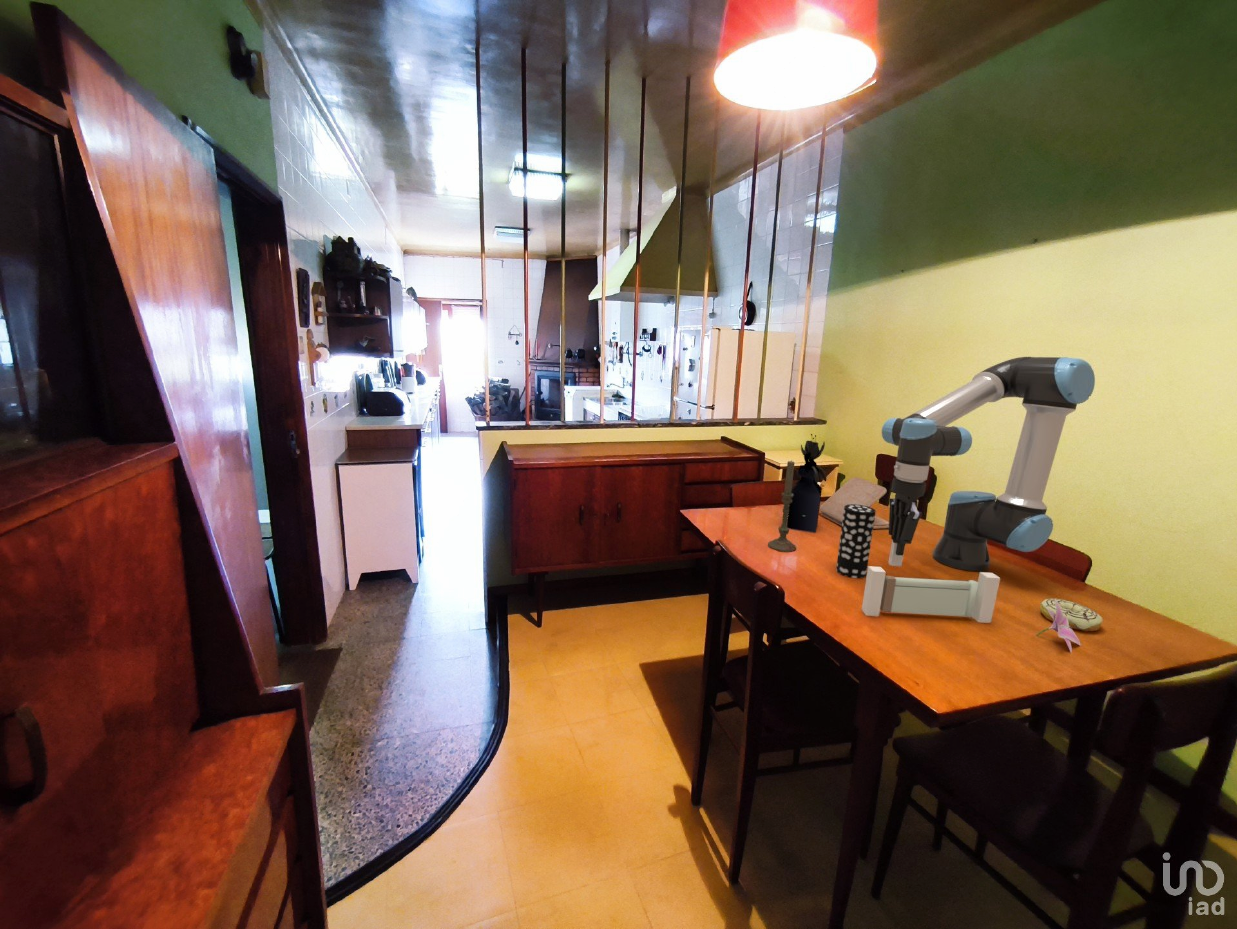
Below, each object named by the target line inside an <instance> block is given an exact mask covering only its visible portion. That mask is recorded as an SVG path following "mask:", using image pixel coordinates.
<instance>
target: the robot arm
mask: <svg viewBox="0 0 1237 929" xmlns="http://www.w3.org/2000/svg"><path fill="white" fill-rule="evenodd" d="M1095 384H1096V378H1095V373H1094V369H1093V368H1092V365H1091V364H1090V363H1089V362H1088V361H1086V360H1084V359H1082V358H1073V357H1068V356H1065V357H1064V356H1062V357H1057V356H1055V357H1052V356H1051V357H1050V356H1049V357H1048V356H1045V357H1044V356H1038V357H1037V356H1020V357H1015V358H1010V359H1008V360H1004V361H1002V362H998V363H997V364H995V365H992V366H989V367H988V368H986V369H983V370H982V371H980V372H978V373H977V374H975V375H974V376H973V377H972V379H971V381H970V382H967V383H966V384H963V385H962V386H960V387H958V388H956V389H955V390H953V391H951V392H949V393H947V394H946V395H944V396H942V397H941V398H939V399H936V400H935V401H933V402H931V403H930V404H928V405H926V406H925V407H923V408H921V409H919V410H917V411H914V413H912V414H910V415H907V416H906V417H903V418H901V417H892V418H888V419H887V420H886V421H885V422H884V423H883V425H882V428H881V436H882V439H883V440H884V441H885V442H886V443H888V444H890V445H894V446H896V447H897V455H896V460H895V465H894V466H893V469H894V470H893V471H894V472H893V476H894V477H893V478H892V482H891V489H890V490H891V492H892V493H893V494H895V495H894V498H889V499H888V503H889V504H888V505H889V513H888V514H889V516H888V517H889V518H888V522H889V528H888V535H889V536H891V538H890V539H891V540H892V542H891V547H890V551H889V556H888V557H889V559H888V565H889V566H893V567H902V564H903V559H904V554H905V547H906V545H911V544H912V542H913V539H914V536H915V533H916V530H917V527H918V524H919V522H920V519H921V518H922V517H923V512H922V511H919V510H918V509H917V508H918V505H919V502H918V499H919V498H920V497H924V496H925V493H926V486H927V482H925V481H927V480H928V476H929V471H930V465H931V464H930V463H931V459H932V457H955V456H962V455H964V454H967V453H968V452H969V450H970V449H971V448H972V444H973V437H972V434H971V432H970V431H969V430H968V429H967V428H964V427H961V426H955V425H953V426H949V425H950V424H952V423H954V422H956V421H957V420H959V419H960V418H963V417H964V416H966V415H968V414H970V413H972V412H973V411H975V410H976V409H978V408H980V407H982V406H984V405H985V404H987V403H996V402H998V401H1000V400H1002V399H1005V398H1019V399H1022V401H1021V402H1022V403H1021V405H1022V406H1023V408H1024V409H1025V411H1026V414H1025V417H1024V421H1023V424H1022V428H1021V431H1020V435H1019V439H1018V442H1017V447H1016V451H1015V454H1014V458H1013V462H1012V465H1011V468H1010V472H1009V476H1008V479H1007V484H1006V487H1005V491H1004V492H1003V493H1002V494H1000V495H998V496H996V494H995V493H991V492H984V491H976V490H973V491H972V490H959V491H958V490H957V491H954V492H952V493H951V494H950V496H949V501H948V503H947V509H946V516H945V522H944V527H943V534H942V535H941V538H940V539H939V541H938V542H937V544H936V546H935V547H934V549H933V553H932V558H933V559H934V560H935V561H936V562H938V563H940V564H943V565H945V566H947V567H951V568H953V569H957V570H962V571H968V572H984V571H987V570H989V568H990V564H991V563H990V562H991V559H990V555H989V548H988V540H989V541H991V542H994V543H997V544H999V545H1002V546H1005V547H1007V548H1009V549H1012V550H1015V551H1016V550H1017V551H1020V552H1022V553H1023V552H1024V553H1029V552H1034V551H1037V550H1038V549H1040V547H1042V546H1044V544H1046V542H1047V541H1048V540H1049V538H1050V536H1051V535H1052V532H1053V530H1054V523H1053V519H1052V518H1051V517H1050V516H1049V515H1047V511H1048V506H1047V505H1046V504H1045V503H1044V502H1043V498H1044V496H1045V492H1046V487H1047V485H1048V481H1049V478H1050V474H1051V471H1052V467H1053V464H1054V460H1055V457H1056V454H1057V449H1058V448H1059V447H1058V446H1059V444H1060V439H1061V436H1062V432H1063V428H1064V426H1065V422H1066V418H1067V416H1068V415H1069V414H1072V413H1073V412H1076V409H1077V406H1078V405H1080V404H1083V403H1085V402H1087V401H1088V400H1089V397H1091V396H1092V394H1093V391H1094V389H1095Z"/></svg>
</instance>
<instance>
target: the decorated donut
mask: <svg viewBox="0 0 1237 929" xmlns="http://www.w3.org/2000/svg"><path fill="white" fill-rule="evenodd" d="M1055 599H1056V601H1057V602H1058V604H1059V605H1060V607H1061V609H1062V612H1063V616H1065V617H1067V619H1068V623H1069V628H1071V627H1072V628H1071V629H1072V630H1073V629H1074V630H1076V631H1077V630H1078V631H1082V632H1084V633H1085V632H1095V631H1098V630H1099V629H1100V628H1101V625H1102V622H1103V621H1104V620H1103V617H1102V616H1101V615H1099V613H1097V612H1096V611H1094V610H1092V609H1091V608H1089V607H1086V606H1083V605H1081V604H1079V603H1076V602H1073V601H1069V600H1065V599H1060V598H1046V599H1044V600H1043V601H1042V602H1041V603H1040V606H1039V609H1040V611H1041V614H1042V615H1043V616H1044V617H1045V619H1046V620H1049V621H1050V622H1052V623H1053V622H1054V620H1055V619H1053V618H1052V616H1051V615H1050V613H1049V612H1048V610H1047V609H1049V610H1051V611H1053V612H1054V613H1055V616H1056V604H1055ZM1070 626H1071V627H1070Z"/></svg>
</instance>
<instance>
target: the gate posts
mask: <svg viewBox="0 0 1237 929" xmlns="http://www.w3.org/2000/svg"><path fill="white" fill-rule="evenodd" d="M885 575H886V571H885V570H884V569H883V568H882V567H881V566H871V565H870V566H869V565H868V566H867V573H866V579H865V583H864V584H865V585H864V586H865V587H864V592H863V598H862V599H863V600H862V606H861V611H862V612H863V613H864V615H865V616H867V617H879V616H880V611H881V610H880V605H881V599H882V593H883V586H884V580H885ZM1000 581H1001V578H1000V577H999V576H998V575H997V574H994V573H993V572H984V571H979V574H978V580H977V582H978V588H977V593H976V598H975V603H974V608H973V613H972V617H971V618H972V619H973V620H975V621H976V622H977V623H980V624H981V623H982V624H983V623H986V624H991V623H992V619H993V615H994V611H995V606H996V605H995V604H996V601H997V600H996V599H997V595H998V591H999V585H1000Z"/></svg>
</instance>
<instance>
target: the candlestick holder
mask: <svg viewBox="0 0 1237 929" xmlns="http://www.w3.org/2000/svg"><path fill="white" fill-rule="evenodd" d="M794 469H795V462H794V461H793V460H789V461H787V464H786V474H785V483H784V492H781V496H782V498H781V502H782V503H783V507H782V523H781V526H779V527H778V534H779V537H777V538H774V539H772V540H769V541H768V543H767V546H768V548H770V549H771V550H773V551H777V552H781V553H792V552H795V551H796V550H797V546H796V544H794V543H793V542H792V541H791V540H789V539H788V538H787V535H788V534H789V531H790V529H789V528H787V520H788V513H789V504H790V503H791V502H792V497H793V496H794V494H792V493H791V491H792V487H793V481H794V471H795V470H794Z"/></svg>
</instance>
